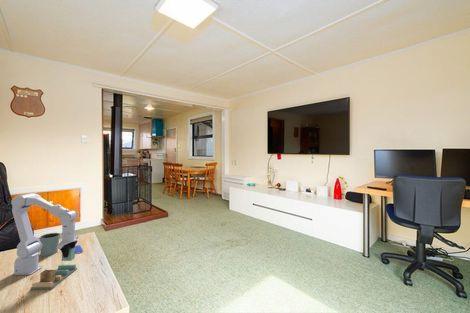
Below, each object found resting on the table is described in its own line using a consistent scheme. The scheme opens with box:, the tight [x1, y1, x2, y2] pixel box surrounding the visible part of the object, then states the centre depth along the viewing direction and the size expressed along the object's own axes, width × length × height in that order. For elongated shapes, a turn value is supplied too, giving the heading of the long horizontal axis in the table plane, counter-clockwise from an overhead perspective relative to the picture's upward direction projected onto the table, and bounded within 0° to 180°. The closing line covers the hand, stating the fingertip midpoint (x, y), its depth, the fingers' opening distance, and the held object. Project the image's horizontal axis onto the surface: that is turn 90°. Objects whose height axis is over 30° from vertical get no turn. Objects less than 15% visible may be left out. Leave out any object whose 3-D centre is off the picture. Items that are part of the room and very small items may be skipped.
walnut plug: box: [39, 269, 57, 283], centre depth 106 cm, size 5×3×6 cm, turn 94°
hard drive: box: [74, 244, 84, 255], centre depth 144 cm, size 2×8×12 cm
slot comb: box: [30, 264, 78, 291], centre depth 112 cm, size 10×18×3 cm, turn 4°
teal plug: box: [61, 248, 76, 262], centre depth 120 cm, size 5×3×6 cm, turn 95°
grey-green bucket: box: [39, 232, 61, 257], centre depth 140 cm, size 10×10×12 cm
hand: (67, 255), depth 120 cm, fingers closed on teal plug, 3 cm apart
